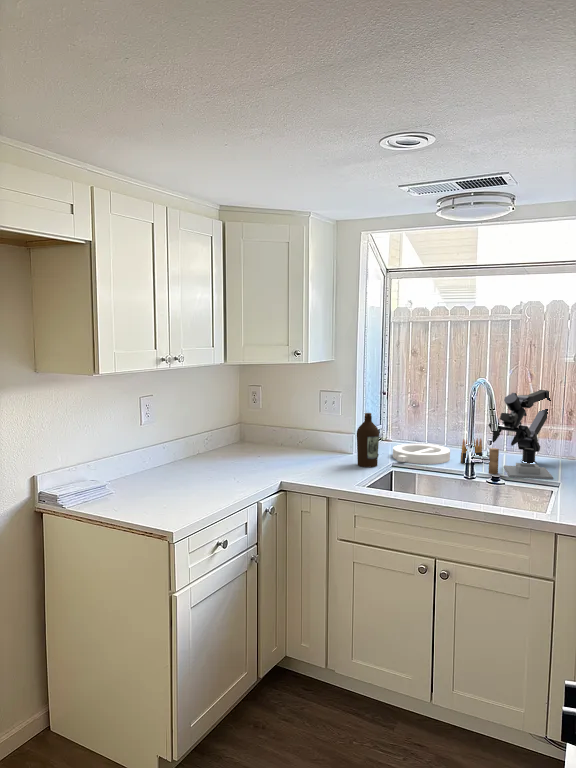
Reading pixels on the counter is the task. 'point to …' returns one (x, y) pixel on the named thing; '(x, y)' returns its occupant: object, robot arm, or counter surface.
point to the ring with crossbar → (421, 453)
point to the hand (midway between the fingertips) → (502, 443)
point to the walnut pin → (493, 460)
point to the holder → (528, 471)
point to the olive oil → (367, 443)
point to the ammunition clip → (477, 449)
